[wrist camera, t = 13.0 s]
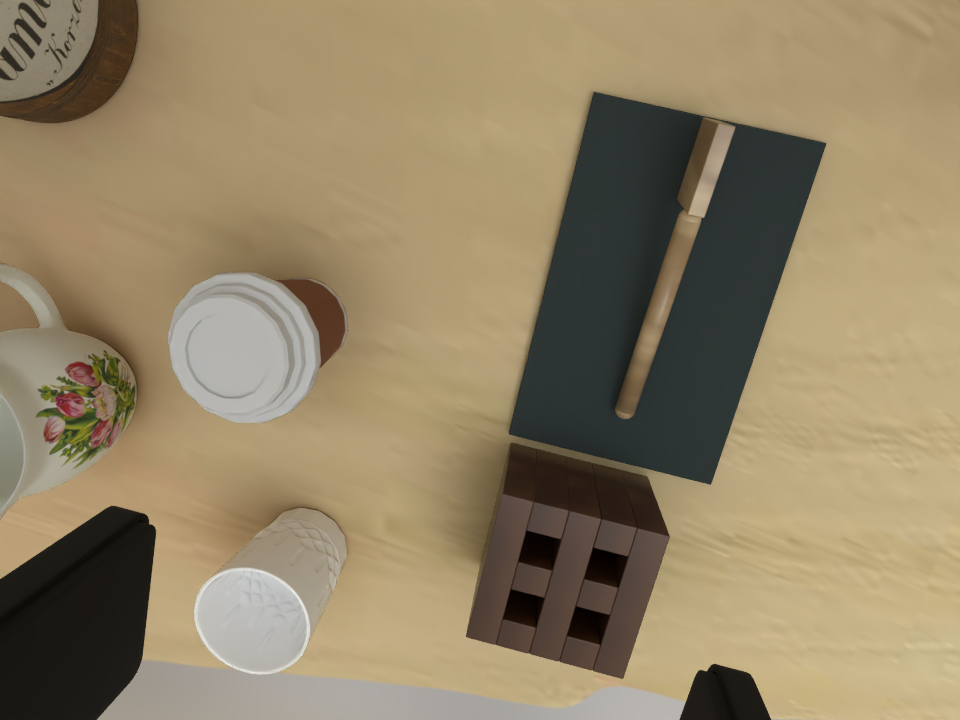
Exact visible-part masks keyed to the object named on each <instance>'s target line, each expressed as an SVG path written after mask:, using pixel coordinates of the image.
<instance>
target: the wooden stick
mask: <svg viewBox="0 0 960 720" xmlns="http://www.w3.org/2000/svg"><path fill="white" fill-rule="evenodd" d="M734 131H735V126H733V125H730V124H727V123H724V122H721V121H718V120H714V119H710V118H705V117H704V118H703V120H702V123H701V126H700V129H699V132H698V135H697V138H696V141H695V144H694V148H693V151H692V154H691V157H690V160H689V163H688V166H687V169H686V172H685V175H684V178H683V181H682V184H681V188H680V191H679V194H678V197H677V200H678V202H679V203H680V204H681V206H682V207H683V208H684V210H683V211H681V212H680V214H679V215H678V218H677V221H676V224H675V227H674V230H673V233H672V236H671V239H670V242H669V245H668V248H667V251H666V254H665V257H664V261H663V264H662V267H661V270H660V273H659V276H658V279H657V282H656V285H655V288H654V291H653V294H652V297H651V300H650V303H649V306H648V309H647V312H646V315H645V318H644V321H643V324H642V327H641V330H640V333H639V336H638V339H637V343H636V346H635V349H634V352H633V355H632V358H631V361H630V364H629V367H628V370H627V373H626V376H625V379H624V382H623V385H622V388H621V391H620V394H619V397H618V400H617V403H616V406H615V412H616V414H617V416H618V417H620V418H622V419H629V418H631V417H632V416H633V415H634V414H635V411H636V408H637V405H638V402H639V400H640V397H641V394H642V391H643V388H644V385H645V382H646V379H647V376H648V374H649V371H650V368H651V365H652V362H653V359H654V356H655V353H656V350H657V348H658V345H659V342H660V339H661V336H662V333H663V330H664V327H665V324H666V322H667V319H668V316H669V313H670V310H671V307H672V304H673V301H674V298H675V296H676V293H677V290H678V287H679V284H680V281H681V278H682V275H683V272H684V270H685V267H686V264H687V261H688V258H689V255H690V252H691V249H692V246H693V244H694V241H695V238H696V235H697V232H698V229H699V226H700V223H701V218H704V217H705V214H706V211H707V208H708V205H709V203H710V200H711V197H712V194H713V191H714V188H715V185H716V182H717V180H718V177H719V174H720V171H721V168H722V165H723V162H724V159H725V157H726V154H727V151H728V148H729V145H730V142H731V139H732V136H733V133H734Z"/></svg>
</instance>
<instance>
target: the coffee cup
mask: <svg viewBox="0 0 960 720" xmlns="http://www.w3.org/2000/svg"><path fill="white" fill-rule="evenodd" d="M347 331H348V322H347V312H346V310H345V308H344V306H343V304H342V301H341V299H340V297H339V296H338V295H337V294H336V293H335V292H334V291H333V290H332V289H330V288H329V287H328V286H327V285H326V284H323V283H321V282H318V281H316V280H313V279H311V278H300V279H290V280H272V279H270V278H267V277H265V276H262V275H260V274H257V273H255V272H224V273H219V274H217V275H215V276H213V277H211V278H209V279H207V280H204V281H202V282H200V283H198V284H196V285H194V286H193V287H192V288H191V289H190V291H189V292H188V293H187V294H186V295H185V297H184V298H183V299H182V300H181V302H180V303H179V304H178V305H177V306H176V308H175V311H174V315H173V318H172V322H171V326H170V330H169V333H168V341H169V350H170V358H171V365H172V369H173V371H174V373H175V375H176V377H177V379H178V380H179V382H180V384H181V386H182V388H183V390H184V391H185V392H187V393H188V394H189V395H190V396H191V397H192V398H193V399H194V400H195V401H196V402H198V403H199V404H200V405H201V406H202V407H203V408H204V409H206V410H207V411H208V412H210V413H213V414H215V415H218V416H220V417H222V418H225V419H227V420H230V421H232V422H235V423H266V422H268V421H270V420H273V419H275V418H278V417H280V416H282V415H285V414H287V413H290V412H291V411H292V410H294V409H295V407H296V406H297V405H298V404H299V403H300V402H301V401H302V400H303V399H304V398H305V397H306V396H307V394H308V393H309V392H310V391H311V390H312V388H313V385H314V382H315V379H316V376H317V373H318V370H319V369H320V368H321V367H322V366H323V365H324V364H325V363H326V362H327V360H328V359H330V358H331V357H332V356H333V355H334V354H335V353H336V352H337V351H338V350H339V349H340V348H341V347H342V345H343V343H344V340H345V337H346V334H347Z"/></svg>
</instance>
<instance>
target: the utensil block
mask: <svg viewBox="0 0 960 720" xmlns="http://www.w3.org/2000/svg"><path fill="white" fill-rule="evenodd" d="M669 538H670V536H669V533H668V530H667V528H666V525H665V522H664V520H663V517H662V514H661V511H660V509H659V506H658V503H657V501H656V498H655V495H654V493H653V490H652V487H651V485H650V482H649V479H648V477H645V476H641V475H637V474H633V473H629V472H625V471H621V470H617V469H613V468H609V467H605V466H601V465H597V464H592V463H589V462H585V461H581V460H577V459H573V458H569V457H565V456H561V455H557V454H553V453H549V452H545V451H541V450H536V449H533V448H529V447H525V446H521V445H517V444H513V443H511V444H510V448H509V451H508V455H507V459H506V463H505V467H504V471H503V475H502V479H501V483H500V487H499V491H498V495H497V499H496V503H495V507H494V511H493V515H492V519H491V523H490V527H489V531H488V535H487V539H486V543H485V547H484V551H483V555H482V559H481V563H480V568H479V573H478V578H477V583H476V588H475V593H474V598H473V603H472V608H471V613H470V618H469V624H468V629H467V634H466V637H468V638H471V639H475V640H479V641H483V642H486V643H490V644H494V645H495V644H496V645H498V646H502V647H505V648H509V649H513V650H517V651H520V652H524V653H530V654H532V655H536V656H539V657H543V658H547V659H551V660H554V661H560V662H562V663H566V664H569V665H573V666H577V667H581V668H584V669H588V670H593V671H595V672H599V673H602V674H606V675H610V676H614V677H617V678H621V679H623V678H624V675H625V672H626V668H627V665H628V662H629V659H630V656H631V653H632V650H633V647H634V644H635V641H636V638H637V635H638V632H639V629H640V626H641V623H642V620H643V617H644V614H645V611H646V608H647V605H648V602H649V598H650V595H651V592H652V589H653V586H654V583H655V580H656V577H657V574H658V571H659V568H660V565H661V562H662V559H663V556H664V553H665V550H666V547H667V544H668V541H669Z"/></svg>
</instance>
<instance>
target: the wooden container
mask: <svg viewBox="0 0 960 720" xmlns="http://www.w3.org/2000/svg"><path fill="white" fill-rule="evenodd" d="M136 36H137V7H136V0H0V116H4V117H9V118H15V119H21V120H27V121H33V122H41V123H60V122H67V121H71V120H74V119H77V118H80V117H83V116H85V115H87V114H89V113H91V112H92V111H94V110H95V109H97V108H98V107H100V106H101V105H102V104H103V103H104V102H106V101H107V100H108V99H109V98H110V97H111V96H112V94H113V93H114V92H115V91H116V90H117V88H118V87H119V85H120V84H121V82H122V80H123V78H124V76H125V74H126V72H127V70H128V68H129V65H130V63H131V60H132V57H133V53H134V48H135V44H136Z"/></svg>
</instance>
